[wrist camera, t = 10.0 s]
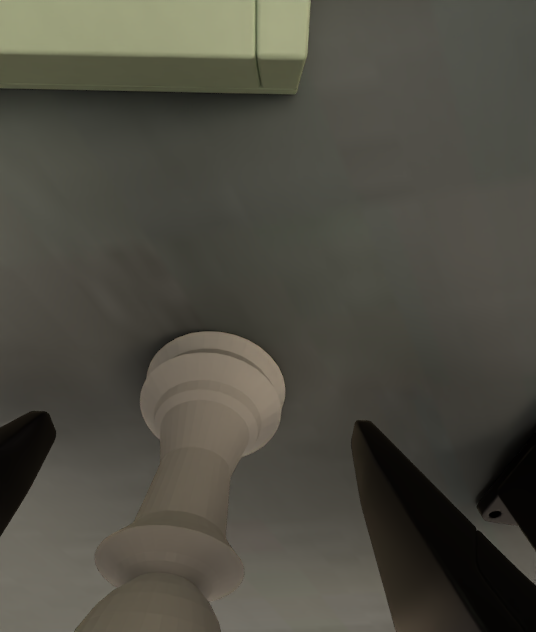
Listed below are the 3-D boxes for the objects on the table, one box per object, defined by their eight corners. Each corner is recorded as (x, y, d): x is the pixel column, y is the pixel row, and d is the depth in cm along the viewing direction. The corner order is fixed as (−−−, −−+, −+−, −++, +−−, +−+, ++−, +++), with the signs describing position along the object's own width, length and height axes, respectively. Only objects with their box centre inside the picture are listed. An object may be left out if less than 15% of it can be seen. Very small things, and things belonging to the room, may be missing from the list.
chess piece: (181, 444, 12) (39, 866, 5) (125, 344, 10) (-267, 811, 3) (298, 421, 11) (342, 868, 4) (264, 311, 9) (232, 799, 2)
